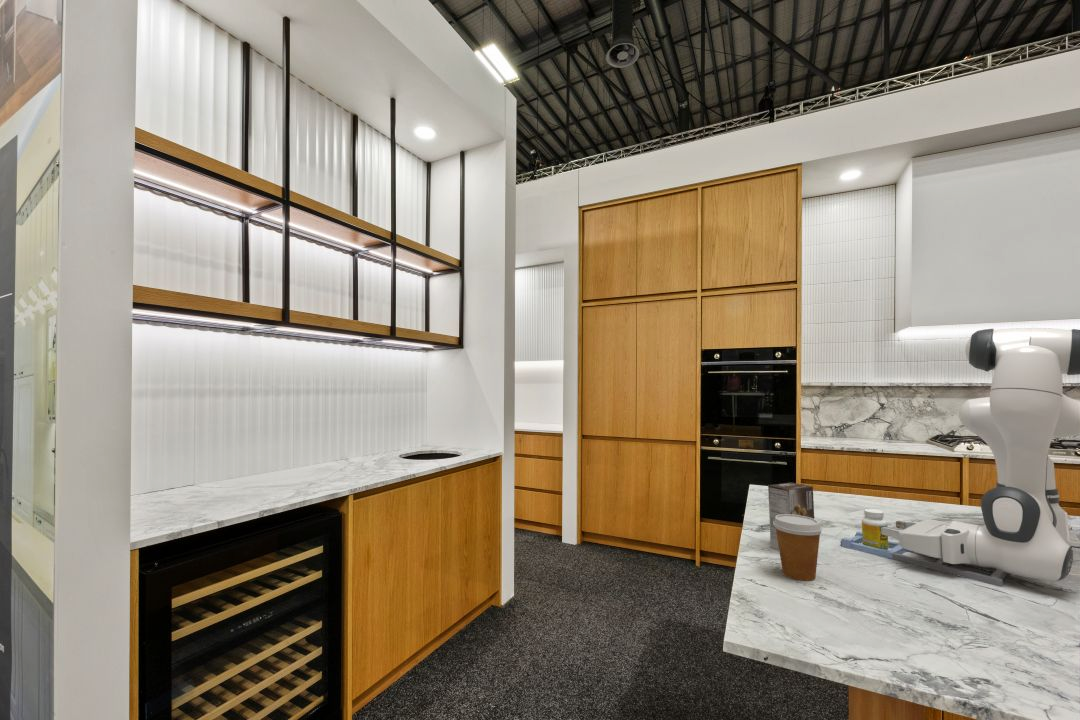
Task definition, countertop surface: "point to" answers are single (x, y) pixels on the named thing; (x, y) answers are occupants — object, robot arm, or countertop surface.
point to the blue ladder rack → (938, 565)
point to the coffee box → (789, 504)
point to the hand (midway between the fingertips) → (889, 527)
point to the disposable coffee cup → (798, 545)
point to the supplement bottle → (874, 529)
